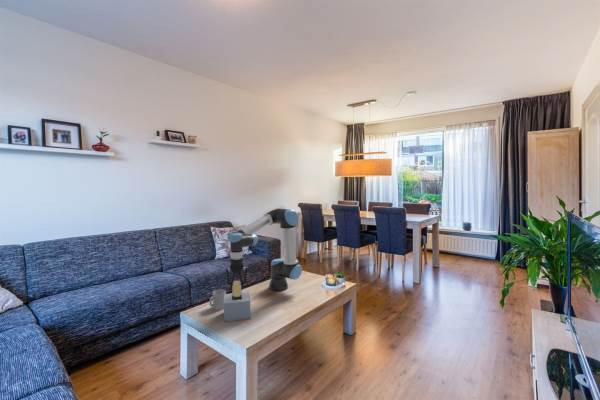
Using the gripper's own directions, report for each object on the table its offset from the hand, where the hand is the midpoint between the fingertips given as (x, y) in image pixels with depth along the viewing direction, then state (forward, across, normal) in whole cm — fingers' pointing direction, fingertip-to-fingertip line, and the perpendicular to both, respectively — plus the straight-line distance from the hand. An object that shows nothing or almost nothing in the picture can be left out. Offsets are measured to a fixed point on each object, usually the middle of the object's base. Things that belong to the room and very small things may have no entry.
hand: (236, 294), depth 186 cm
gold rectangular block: (0, 0, 0) cm, 0 cm away
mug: (+14, +13, -14) cm, 23 cm away
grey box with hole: (+14, 0, 0) cm, 14 cm away
